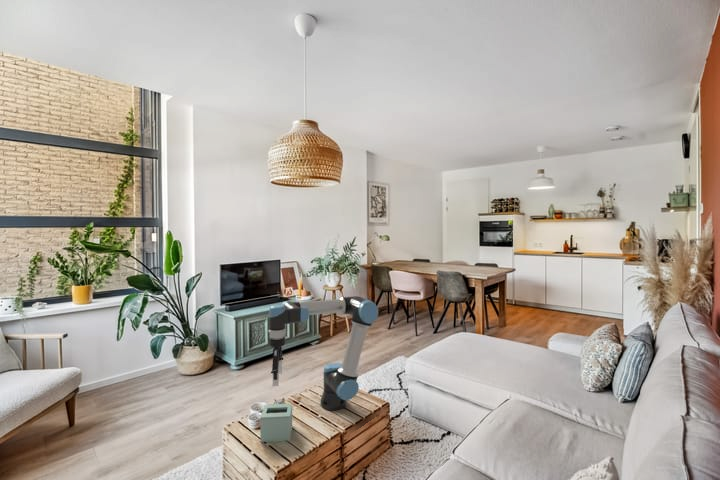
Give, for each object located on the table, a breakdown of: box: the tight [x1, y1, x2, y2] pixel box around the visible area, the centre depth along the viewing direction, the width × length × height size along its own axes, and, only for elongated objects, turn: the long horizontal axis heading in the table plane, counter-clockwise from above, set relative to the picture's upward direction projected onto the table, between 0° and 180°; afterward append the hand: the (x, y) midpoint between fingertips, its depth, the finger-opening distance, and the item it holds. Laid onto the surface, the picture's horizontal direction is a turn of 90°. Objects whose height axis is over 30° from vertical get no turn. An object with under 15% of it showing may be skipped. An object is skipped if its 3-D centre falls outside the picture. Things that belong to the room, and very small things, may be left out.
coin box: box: [259, 402, 293, 443], centre depth 173 cm, size 14×12×12 cm
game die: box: [273, 397, 286, 404], centre depth 191 cm, size 9×8×10 cm
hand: (277, 379), depth 172 cm, fingers open, 13 cm apart
